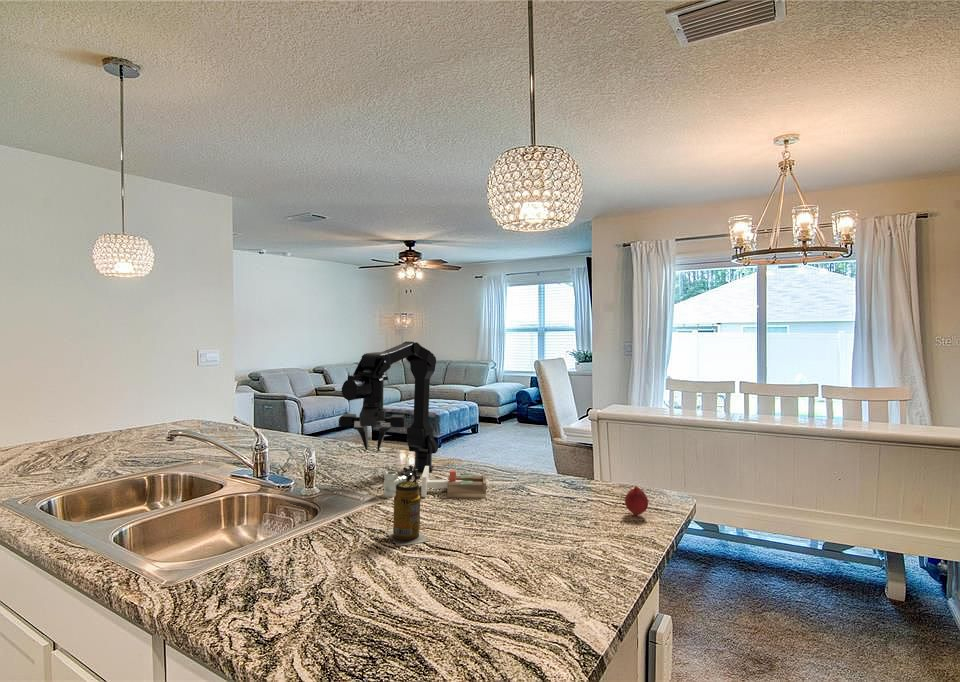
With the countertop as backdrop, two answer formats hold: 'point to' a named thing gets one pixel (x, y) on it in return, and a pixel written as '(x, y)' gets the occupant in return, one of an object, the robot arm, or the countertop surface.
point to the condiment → (406, 515)
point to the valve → (397, 480)
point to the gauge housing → (467, 486)
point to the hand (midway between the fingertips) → (372, 449)
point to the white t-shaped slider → (435, 481)
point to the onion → (636, 501)
